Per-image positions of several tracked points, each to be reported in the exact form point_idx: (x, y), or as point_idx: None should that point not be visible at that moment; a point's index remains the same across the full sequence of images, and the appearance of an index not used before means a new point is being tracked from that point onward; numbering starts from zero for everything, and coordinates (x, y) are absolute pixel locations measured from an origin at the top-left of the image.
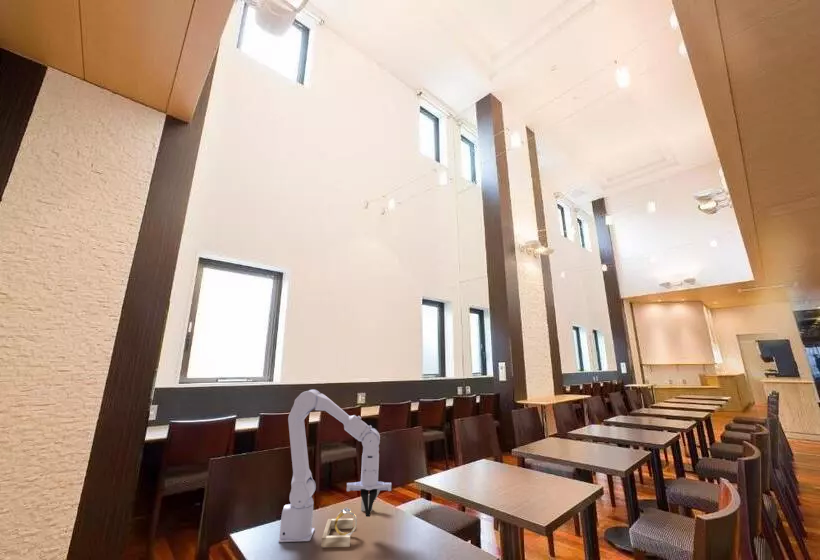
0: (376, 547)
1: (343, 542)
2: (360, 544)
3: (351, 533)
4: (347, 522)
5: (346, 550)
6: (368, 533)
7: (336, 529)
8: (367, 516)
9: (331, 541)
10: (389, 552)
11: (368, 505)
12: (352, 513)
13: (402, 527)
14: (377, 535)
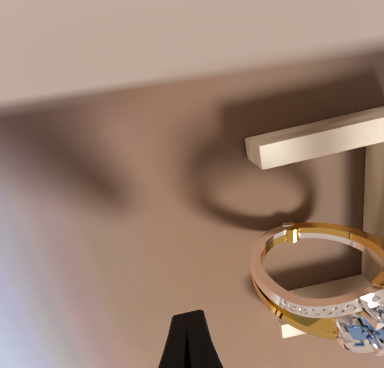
0: (104, 155)
1: (285, 133)
2: (195, 170)
3: (262, 236)
4: None
5: (252, 98)
6: (186, 271)
7: (350, 230)
8: (189, 312)
9: (356, 119)
10: (14, 116)
11: None
12: (310, 306)
13: (50, 343)
14: (138, 263)
